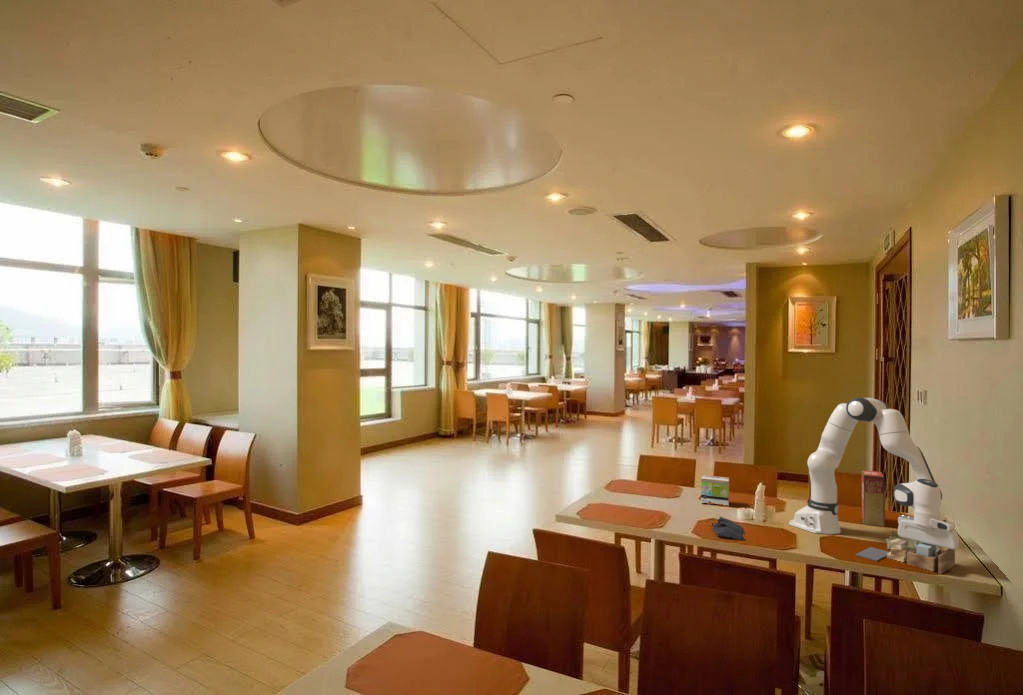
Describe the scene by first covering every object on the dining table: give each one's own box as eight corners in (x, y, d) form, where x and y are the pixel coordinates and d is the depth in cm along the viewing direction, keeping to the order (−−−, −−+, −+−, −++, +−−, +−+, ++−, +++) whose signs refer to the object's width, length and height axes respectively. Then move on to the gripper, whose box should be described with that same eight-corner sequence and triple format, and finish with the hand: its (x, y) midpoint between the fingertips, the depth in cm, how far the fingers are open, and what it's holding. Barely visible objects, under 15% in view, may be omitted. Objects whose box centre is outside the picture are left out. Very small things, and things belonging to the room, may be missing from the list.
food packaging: (861, 517, 287) (861, 469, 287) (882, 520, 282) (882, 471, 283) (863, 524, 275) (863, 474, 275) (885, 527, 271) (885, 476, 271)
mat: (855, 555, 233) (855, 554, 233) (870, 548, 242) (870, 546, 242) (876, 561, 226) (876, 560, 226) (891, 553, 235) (891, 552, 235)
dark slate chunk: (711, 538, 255) (711, 528, 255) (709, 524, 275) (709, 515, 276) (747, 542, 250) (747, 532, 250) (742, 527, 271) (742, 518, 271)
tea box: (700, 504, 310) (700, 478, 310) (701, 499, 320) (701, 474, 320) (728, 507, 305) (729, 480, 305) (729, 502, 314) (729, 476, 314)
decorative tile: (935, 546, 246) (935, 538, 246) (940, 560, 230) (940, 551, 230) (885, 537, 257) (885, 530, 257) (886, 550, 240) (886, 542, 240)
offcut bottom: (886, 559, 230) (886, 553, 230) (895, 554, 236) (895, 548, 236) (903, 564, 225) (903, 558, 225) (911, 558, 231) (911, 552, 231)
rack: (906, 564, 223) (906, 547, 223) (921, 556, 233) (921, 539, 233) (941, 574, 214) (941, 556, 214) (954, 564, 223) (954, 547, 223)
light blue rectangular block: (916, 565, 223) (916, 545, 223) (926, 559, 229) (926, 540, 229) (928, 568, 220) (928, 548, 220) (937, 562, 226) (937, 543, 226)
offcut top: (890, 546, 231) (890, 540, 231) (897, 544, 234) (897, 538, 234) (900, 549, 228) (900, 543, 228) (908, 547, 231) (908, 541, 231)
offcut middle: (890, 554, 229) (890, 548, 229) (894, 549, 235) (894, 543, 235) (905, 557, 226) (905, 551, 226) (908, 552, 232) (908, 546, 232)
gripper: (895, 515, 231) (894, 547, 231) (955, 527, 215) (955, 563, 214) (900, 512, 235) (900, 544, 235) (960, 525, 218) (960, 559, 218)
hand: (927, 553), depth 224 cm, fingers closed on light blue rectangular block, 4 cm apart
